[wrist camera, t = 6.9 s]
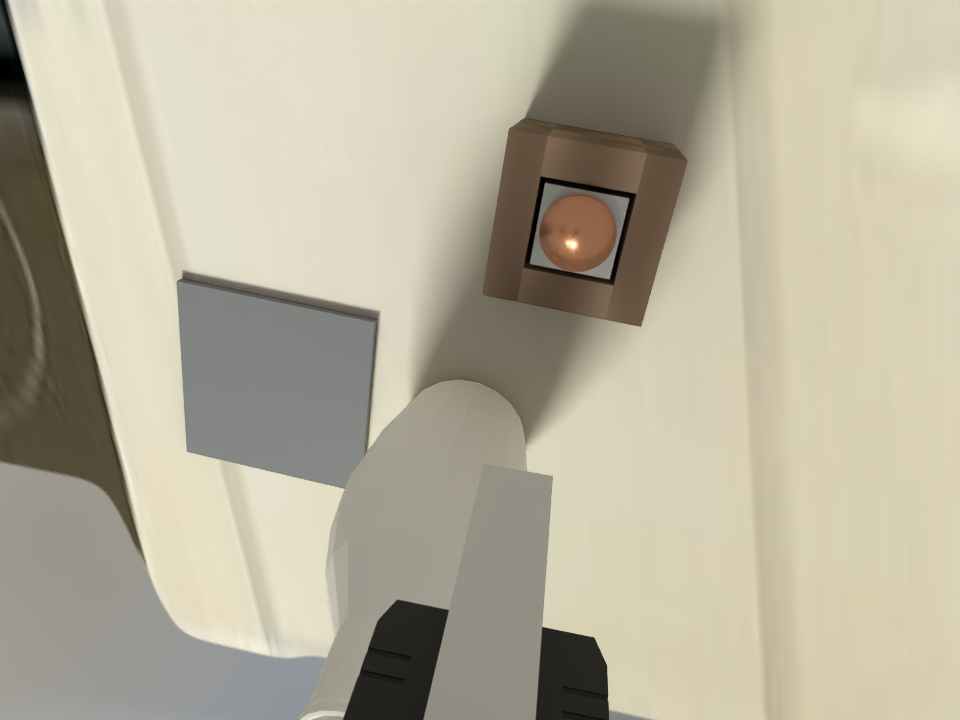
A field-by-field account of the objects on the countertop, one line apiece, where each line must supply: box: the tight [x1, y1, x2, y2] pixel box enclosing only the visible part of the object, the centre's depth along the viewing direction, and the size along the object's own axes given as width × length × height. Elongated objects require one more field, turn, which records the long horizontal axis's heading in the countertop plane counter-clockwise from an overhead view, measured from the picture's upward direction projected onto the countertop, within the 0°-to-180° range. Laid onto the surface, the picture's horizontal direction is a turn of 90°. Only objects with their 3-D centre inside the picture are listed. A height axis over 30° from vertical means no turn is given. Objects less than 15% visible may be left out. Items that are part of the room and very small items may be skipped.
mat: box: [177, 279, 377, 489], centre depth 50 cm, size 15×15×1 cm
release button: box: [530, 178, 630, 279], centre depth 36 cm, size 4×4×6 cm
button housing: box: [483, 118, 687, 327], centre depth 38 cm, size 9×9×7 cm
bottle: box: [297, 379, 527, 720], centre depth 38 cm, size 11×11×25 cm
